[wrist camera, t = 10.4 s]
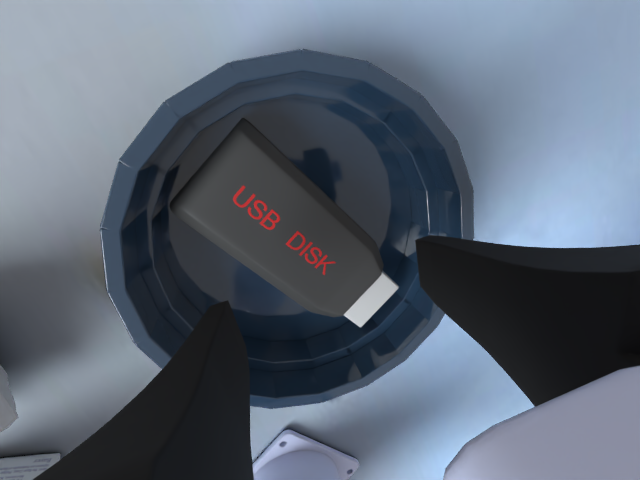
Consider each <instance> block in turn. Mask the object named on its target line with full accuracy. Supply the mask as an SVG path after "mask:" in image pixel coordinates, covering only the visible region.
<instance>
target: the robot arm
mask: <svg viewBox="0 0 640 480" xmlns="http://www.w3.org/2000/svg"><path fill="white" fill-rule="evenodd" d="M415 244H416V253H417V262H418V271H419V280H420V286H421V287H422V289H423V290H424V291H425V292H426V294H427V295H428V296H429V297H430V299H431V300H432V301H433V302H434V303H435V304H436V305H437V306H438V307H439V308H440V309H441V310H442V311H443V312H444V313H445V314H446V315H448V316H449V317H450V318H451V319H452V320H453V321H454V322H455V323H456V324H458V325H459V326H460V327H461V328H462V329H463V330H464V331H465V332H467V333H468V334H469V335H470V336H471V337H472V338H473V339H474V340H475V341H477V342H478V343H479V344H480V345H481V346H482V347H483V348H484V349H485V350H486V351H487V352H488V353H489V354H490V355H491V356H492V357H493V358H494V359H495V361H496V362H497V363H498V364H499V365H500V366H501V367H502V368H503V369H504V370H505V372H506V373H507V374H508V375H509V376H510V377H511V378H512V380H513V381H514V382H515V383H516V384H517V385H518V387H519V388H520V389H521V390H522V391H523V392H524V394H525V395H526V396H527V397H528V398H529V399H530V401H531V402H532V403H533V404H534V406H535V407H534V408H532V409H529V410H527V411H525V412H523V413H520V414H518V415H516V416H513V417H511V418H509V419H507V420H504V421H502V422H500V423H498V424H495V425H493V426H492V427H490V428H489V429H487V430H486V431H484V432H483V433H481V434H479V435H478V436H476V437H475V438H473V439H472V440H470V441H469V442H467V443H466V444H465V445H464V446H463V447H462V449H461V450H460V451H459V452H458V454H457V455H456V456H455V457H454V459H453V460H452V461H451V462H450V464H449V465H448V466H447V467H446V469H445V473H444V478H443V480H640V245H629V246H616V247H598V248H541V247H523V246H512V245H503V244H494V243H487V242H480V241H473V240H466V239H460V238H453V237H446V236H436V235H429V236H426V237H423V238H420V239H417V240H415ZM283 441H284V442H283ZM358 468H359V462H358V460H357V459H355V458H353V457H351V456H349V455H346V454H344V453H342V452H340V451H337V450H335V449H333V448H331V447H328V446H326V445H324V444H321V443H319V442H317V441H315V440H312V439H310V438H308V437H306V436H303V435H301V434H299V433H297V432H294V431H292V430H285V431H283V432H282V433H281V434H280V435H279V436H278V437H277V438H276V439H275V441H274V442H273V443H272V444H271V445H270V446H269V447H268V448H267V449H266V450H265V451H264V452H263V454H262V455H261V456H260V457H259V458H258V459H257V460H256V461H255V462H254V463H253V464H252V457H251V446H250V371H249V363H248V356H247V349H246V345H245V342H244V340H243V337H242V335H241V332H240V329H239V327H238V324H237V322H236V319H235V317H234V314H233V312H232V309H231V306H230V304H229V301H228V300H227V301H224V302H221V303H218V304H215V305H211V306H210V307H209V308H208V310H207V311H206V312H205V314H204V315H203V317H202V318H201V320H200V321H199V322H198V324H197V325H196V327H195V328H194V330H193V331H192V332H191V334H190V335H189V337H188V338H187V339H186V341H185V342H184V343H183V345H182V346H181V347H180V348H179V350H178V351H177V352H176V353H175V355H174V356H173V357H172V358H171V360H170V361H169V362H168V363H167V365H166V366H165V367H164V368H163V369H162V370H161V371H160V373H159V374H158V375H157V376H156V377H155V378H154V379H153V380H152V381H151V382H150V383H149V384H148V385H147V386H146V387H145V388H144V389H143V390H142V391H141V392H140V393H139V394H138V395H137V396H136V397H135V398H134V399H133V400H132V401H131V402H130V403H129V404H127V405H126V406H125V407H124V408H123V409H122V410H121V411H120V412H119V413H118V414H116V415H115V416H114V417H113V418H112V419H111V420H110V421H109V422H107V423H106V424H105V425H104V426H103V427H101V428H100V429H99V430H98V431H97V432H95V433H94V434H93V435H92V436H91V437H89V438H88V439H87V440H85V441H84V442H83V443H82V444H80V445H79V446H78V447H77V448H75V449H74V450H73V451H71V452H70V453H69V454H67V455H66V456H65V457H63V458H62V459H61V460H59V461H58V462H57V463H55V464H54V465H53V466H51V467H50V468H48V469H47V470H45V471H44V472H43V473H41V474H40V475H38V476H37V477H35V478H34V479H33V480H347V479H348V478H349V477H350V476H351V475H352V474H353V473H354V472H355V471H356V470H357V469H358Z"/></svg>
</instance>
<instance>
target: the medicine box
mask: <svg viewBox="0 0 640 480" xmlns="http://www.w3.org/2000/svg"><path fill="white" fill-rule="evenodd" d="M60 456H61V455H60V453H53V454H39V455H29V456H19V457H8V458H1V459H0V480H33V479H34V478H35V477H37V476H38V475H40V474H41V473H43V472H44V471H45V470H47V469H48V468H50V467H51V466H53V465H54V464H55V463H57V462H58V461H59V460H60Z"/></svg>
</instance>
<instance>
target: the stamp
mask: <svg viewBox="0 0 640 480" xmlns="http://www.w3.org/2000/svg"><path fill="white" fill-rule="evenodd" d="M17 418H18V415H17V412H16V406H15V402H14V399H13V396H12V393H11V390H10V387H9V384H8V375H7V374H6V372H5V371H4V369H3V368H2V366H1V365H0V432H2V431H3V430H5V429H7V428H8V427H9V426H10V425H11V424H12V423H13V422H14V421H15V420H16V419H17Z"/></svg>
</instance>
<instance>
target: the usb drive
mask: <svg viewBox="0 0 640 480" xmlns="http://www.w3.org/2000/svg"><path fill="white" fill-rule="evenodd" d="M170 209H171V211H172V212H173V213H174V214H175V215H176V216H177V217H178V218H179V219H181V220H182V221H183V222H185V223H186V224H187V225H189V226H190V227H191V228H193V229H194V230H196V231H197V232H198V233H200V234H201V235H203V236H204V237H205V238H207V239H208V240H210V241H211V242H213V243H214V244H215V245H217V246H218V247H220V248H221V249H222V250H224V251H225V252H227V253H228V254H229V255H231V256H232V257H234V258H235V259H236V260H238V261H239V262H241V263H242V264H243V265H245V266H246V267H248V268H249V269H250V270H252V271H253V272H255V273H256V274H258V275H259V276H260V277H262V278H263V279H265V280H266V281H267V282H269V283H270V284H272V285H273V286H274V287H276V288H277V289H279V290H280V291H281V292H283V293H284V294H286V295H287V296H288V297H290V298H291V299H293V300H294V301H295V302H297V303H298V304H300V305H301V306H303V307H304V308H305V309H307V310H308V311H310V312H313V313H317V314H321V315H326V316H330V317H339V316H343V315H344V316H345V317H347V318H348V319H349V320H351V321H352V322H353V323H355V324H356V325H357V326H359V327H362V326H363V325H364V324H365V323H366V322H367V321H368V320H369V319H370V318H371V316H372V315H373V314H374V313H375V312H376V311H377V310H378V309H379V308H380V307H381V306H382V305H383V304H384V303H385V302H386V301H387V300H388V299H389V298H390V297H391V296H392V295H393V294H394V293H395V291H396V290H397V289H398V288H399V286H398V285H397V284H396V283H395V282H394V281H393V280H392V279H391V278H390V277H389V276H388V275H387V274H386V273H385V272H383V271H382V270H383V266H384V264H383V261H382V258H381V255H380V252H379V250H378V247H377V244H376V242H375V241H374V240H373V239H372V238H371V237H370V236H369V235H368V234H367V233H366V232H365V231H364V230H363V229H362V228H361V227H360V226H359V225H358V224H357V223H356V222H355V221H354V220H353V219H352V218H350V217H349V216H348V215H347V214H346V213H345V212H344V211H343V210H342V209H341V208H340V207H339V206H338V205H337V204H336V203H335V202H334V201H333V200H332V199H330V198H329V197H328V196H327V195H326V194H325V193H324V192H323V191H322V190H321V189H320V188H319V187H318V186H317V185H316V184H315V183H314V182H313V181H312V180H310V179H309V178H308V177H307V176H306V175H305V174H304V173H303V172H302V171H301V170H300V169H299V168H298V167H297V166H296V165H295V164H294V163H293V162H292V161H290V160H289V159H288V158H287V157H286V156H285V155H284V154H283V153H282V152H281V151H280V150H279V149H278V148H277V147H276V146H275V145H274V144H273V143H272V142H270V141H269V140H268V139H267V138H266V137H265V136H264V135H263V134H262V133H261V132H260V131H259V130H258V129H257V128H256V127H255V126H253V125H252V124H251V123H250V122H249V121H248V120H246V119H245V118H242V119H241V120H240V121H239V122H238V123H237V125H236V126H235V127H234V128H233V129H232V130H231V132H230V133H229V134H228V135H227V136H226V137H225V139H224V140H223V141H222V142H221V143H220V144H219V146H218V147H217V148H216V149H215V150H214V151H213V153H212V154H211V155H210V156H209V157H208V158H207V160H206V161H205V162H204V163H203V164H202V165H201V167H200V168H199V169H198V170H197V171H196V172H195V174H194V175H193V176H192V177H191V178H190V179H189V181H188V182H187V183H186V184H185V185H184V187H183V188H182V189H181V190H180V191H179V192H178V194H177V195H176V196H175V197H174V198H173V199H172V201H171V202H170Z"/></svg>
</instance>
